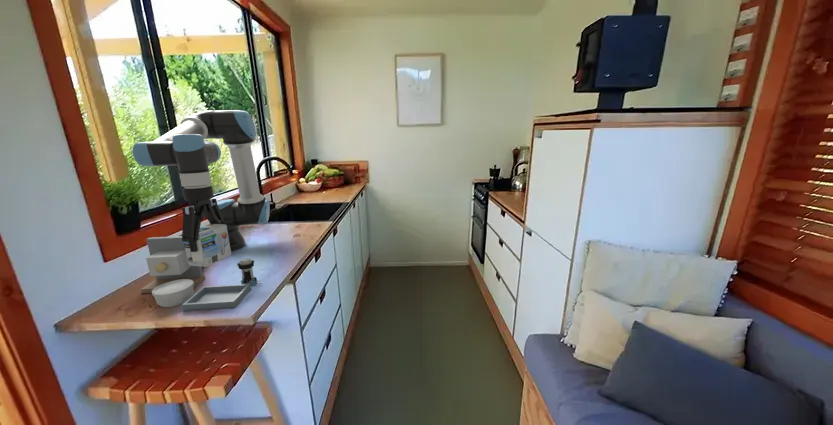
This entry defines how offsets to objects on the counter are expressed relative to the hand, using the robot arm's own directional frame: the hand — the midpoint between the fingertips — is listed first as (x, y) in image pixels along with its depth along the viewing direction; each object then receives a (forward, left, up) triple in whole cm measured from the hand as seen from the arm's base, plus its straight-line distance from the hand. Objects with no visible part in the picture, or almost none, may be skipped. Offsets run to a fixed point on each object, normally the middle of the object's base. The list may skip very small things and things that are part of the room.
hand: (209, 253), depth 99 cm
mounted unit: (-14, -23, -17) cm, 31 cm away
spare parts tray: (0, 0, -17) cm, 17 cm away
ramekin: (-2, -15, -17) cm, 23 cm away
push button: (-10, +6, -17) cm, 21 cm away
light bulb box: (0, 0, -2) cm, 2 cm away
